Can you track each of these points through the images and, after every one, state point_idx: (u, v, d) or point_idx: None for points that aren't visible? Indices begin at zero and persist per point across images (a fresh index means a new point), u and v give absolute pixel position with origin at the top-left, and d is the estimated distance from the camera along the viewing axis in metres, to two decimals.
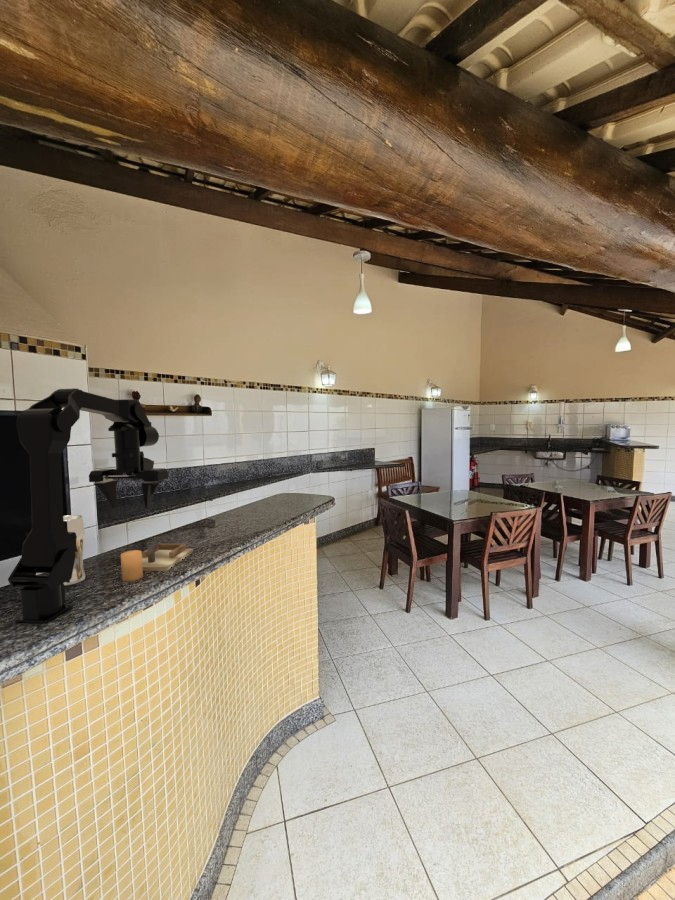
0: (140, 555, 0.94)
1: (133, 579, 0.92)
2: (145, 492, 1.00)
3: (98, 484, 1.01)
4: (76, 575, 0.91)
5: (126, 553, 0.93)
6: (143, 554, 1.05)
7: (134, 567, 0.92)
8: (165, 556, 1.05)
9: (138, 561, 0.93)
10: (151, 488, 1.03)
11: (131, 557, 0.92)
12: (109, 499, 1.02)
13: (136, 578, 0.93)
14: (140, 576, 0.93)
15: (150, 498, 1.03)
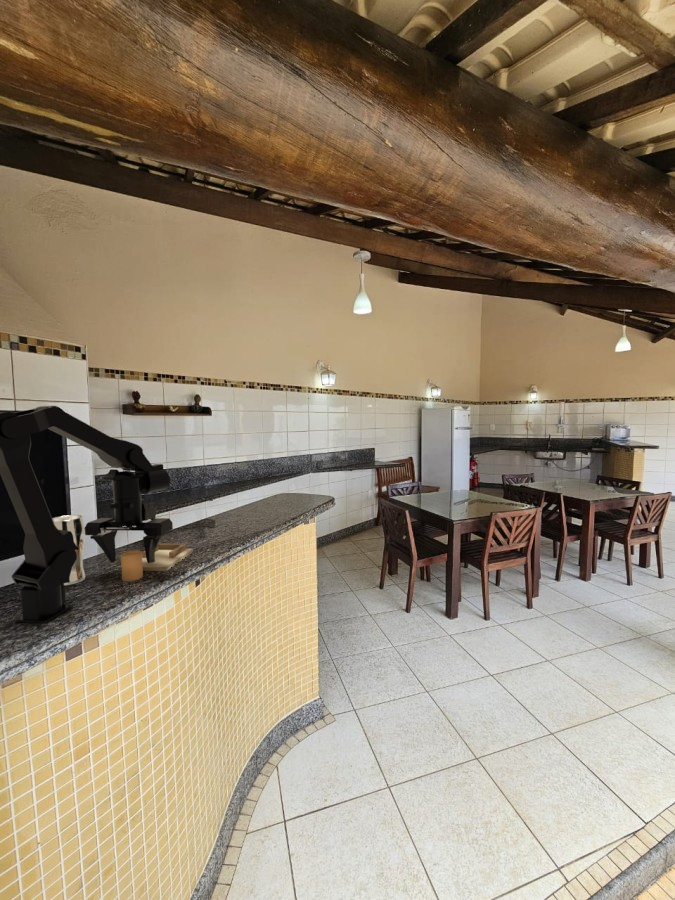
0: (140, 555, 0.94)
1: (133, 579, 0.92)
2: (147, 547, 0.91)
3: (95, 537, 0.91)
4: (76, 575, 0.91)
5: (126, 553, 0.93)
6: (143, 554, 1.05)
7: (134, 567, 0.92)
8: (165, 556, 1.05)
9: (138, 561, 0.93)
10: (154, 541, 0.93)
11: (131, 557, 0.92)
12: (108, 553, 0.93)
13: (136, 578, 0.93)
14: (140, 576, 0.93)
15: (152, 552, 0.93)
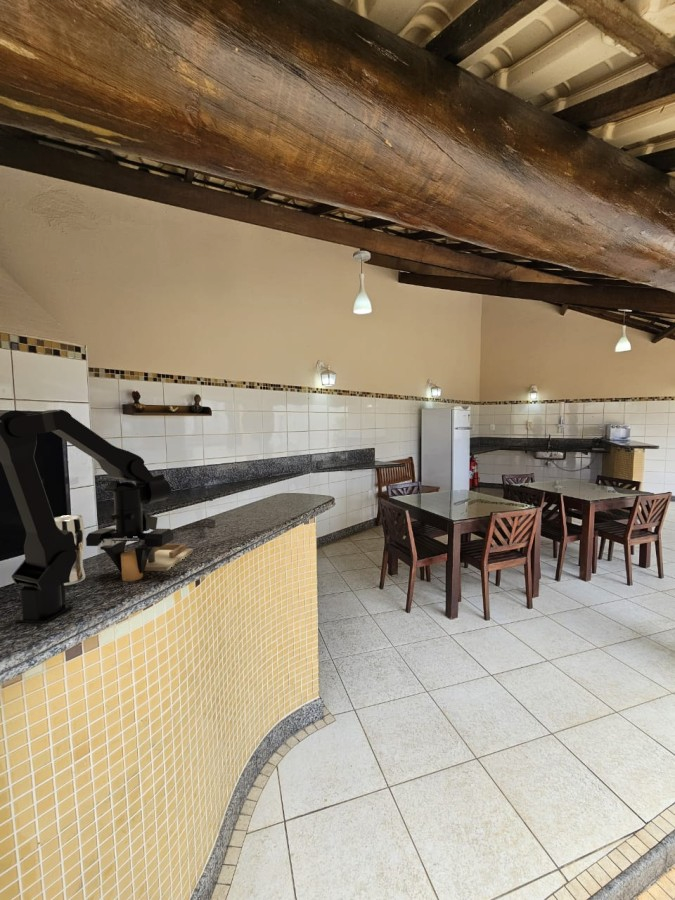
0: None
1: (133, 579, 0.92)
2: (139, 557, 0.91)
3: (105, 548, 0.91)
4: (76, 575, 0.91)
5: (126, 553, 0.93)
6: None
7: (134, 567, 0.92)
8: (165, 556, 1.05)
9: None
10: (146, 551, 0.93)
11: (131, 557, 0.92)
12: (117, 564, 0.93)
13: (136, 578, 0.93)
14: (140, 576, 0.93)
15: (144, 562, 0.93)
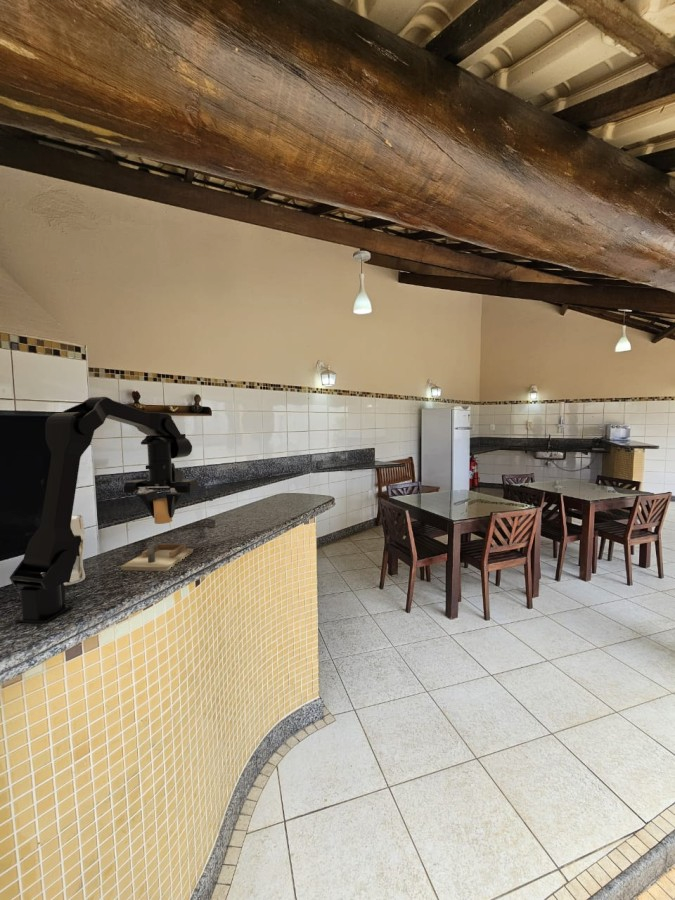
0: None
1: (164, 522, 1.06)
2: (169, 503, 1.05)
3: (140, 495, 1.05)
4: (76, 575, 0.91)
5: (158, 500, 1.07)
6: (143, 554, 1.05)
7: (165, 511, 1.06)
8: (165, 556, 1.05)
9: None
10: (175, 498, 1.07)
11: (163, 503, 1.05)
12: (150, 509, 1.06)
13: (167, 521, 1.06)
14: (170, 520, 1.07)
15: (174, 508, 1.07)
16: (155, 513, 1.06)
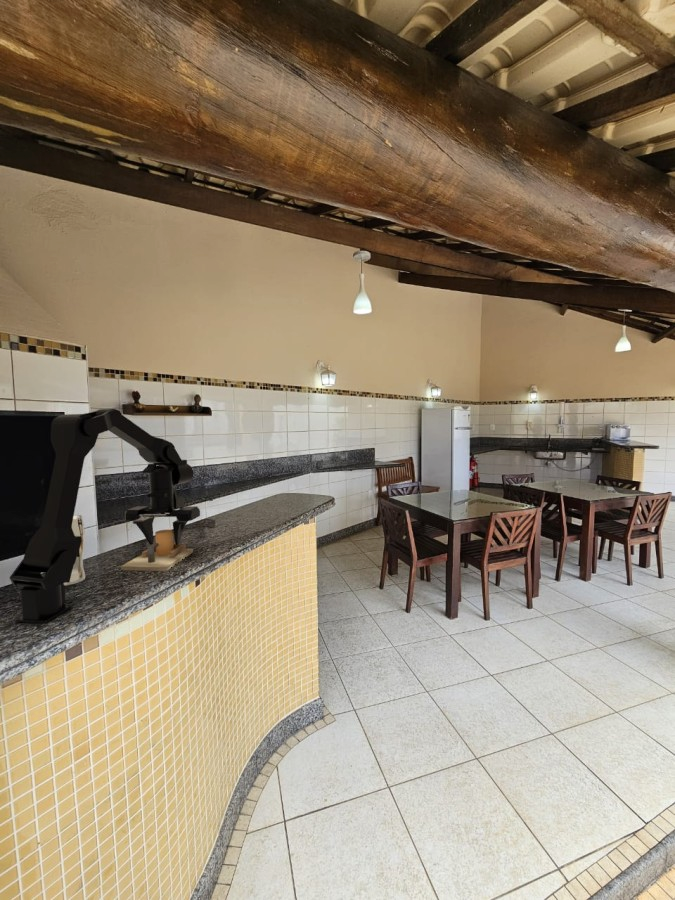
0: (171, 533, 1.08)
1: (166, 554, 1.06)
2: (176, 530, 1.05)
3: (137, 523, 1.05)
4: (76, 575, 0.91)
5: (159, 531, 1.08)
6: (143, 554, 1.05)
7: (166, 543, 1.06)
8: (165, 556, 1.05)
9: (170, 539, 1.07)
10: (181, 526, 1.08)
11: (164, 535, 1.06)
12: (147, 536, 1.07)
13: (168, 553, 1.07)
14: None
15: (180, 535, 1.07)
16: None
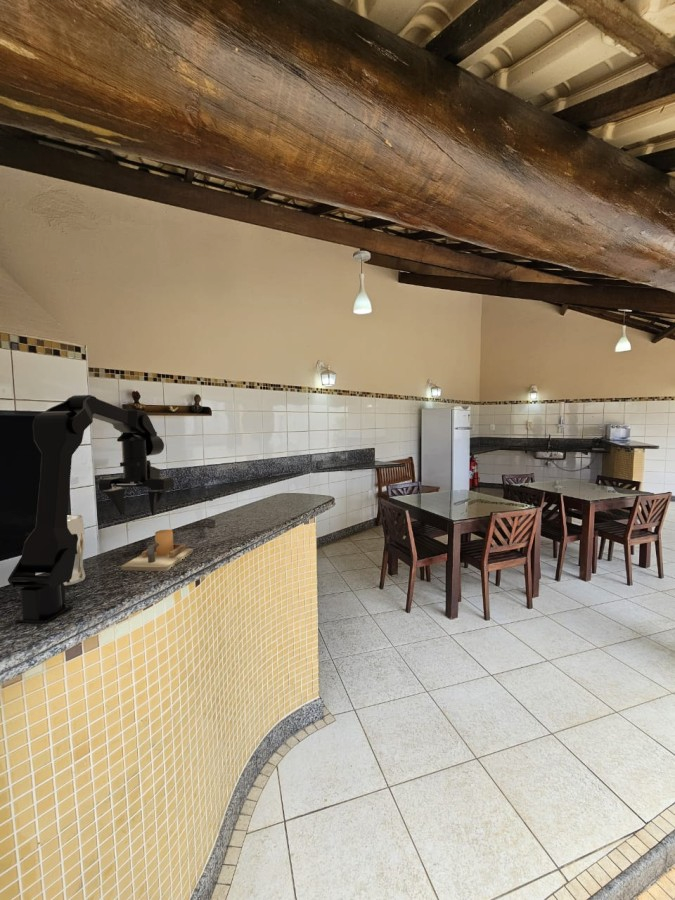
0: (171, 533, 1.08)
1: (166, 554, 1.06)
2: (151, 500, 1.04)
3: (107, 492, 1.05)
4: (76, 575, 0.91)
5: (159, 532, 1.08)
6: (143, 554, 1.05)
7: (166, 543, 1.06)
8: (165, 556, 1.05)
9: (170, 539, 1.07)
10: (157, 496, 1.07)
11: (164, 535, 1.06)
12: (117, 506, 1.06)
13: (168, 553, 1.07)
14: None
15: (156, 506, 1.06)
16: None
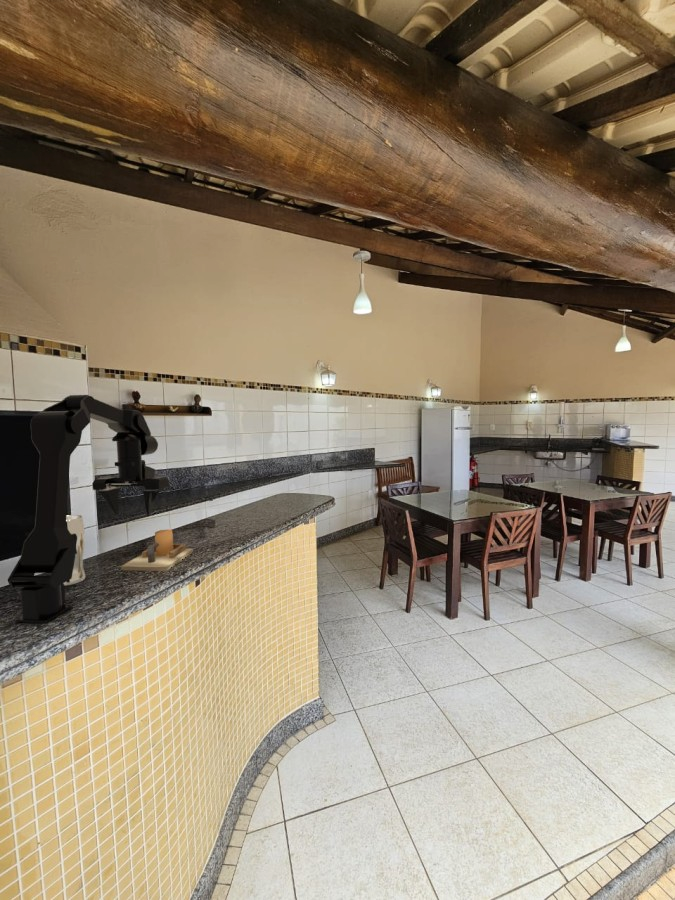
0: (171, 533, 1.08)
1: (166, 554, 1.06)
2: (146, 499, 1.04)
3: (101, 492, 1.05)
4: (76, 575, 0.91)
5: (159, 532, 1.08)
6: (143, 554, 1.05)
7: (166, 543, 1.06)
8: (165, 556, 1.05)
9: (170, 539, 1.07)
10: (152, 495, 1.07)
11: (164, 535, 1.06)
12: (112, 506, 1.06)
13: (168, 553, 1.07)
14: None
15: (151, 505, 1.07)
16: None
